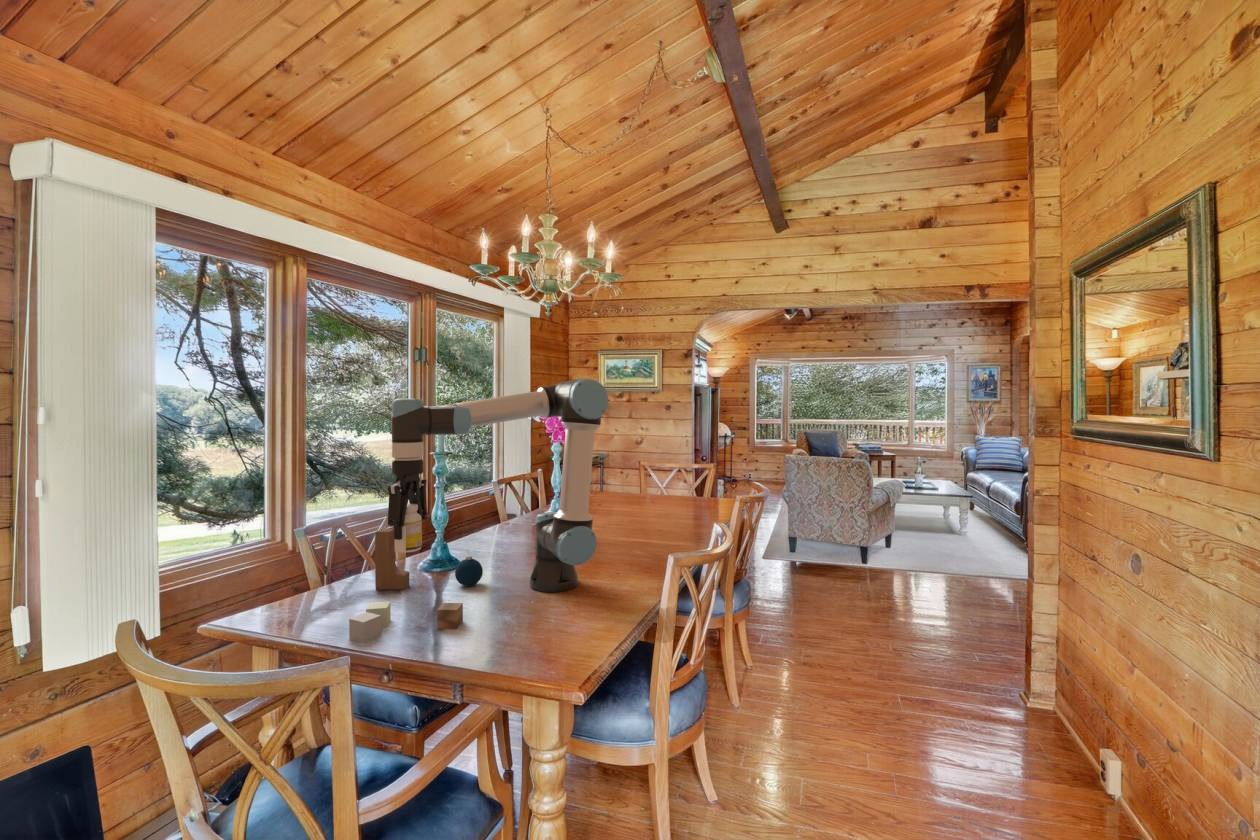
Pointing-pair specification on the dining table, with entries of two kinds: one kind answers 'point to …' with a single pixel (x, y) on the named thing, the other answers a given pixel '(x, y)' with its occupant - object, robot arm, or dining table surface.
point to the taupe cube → (365, 627)
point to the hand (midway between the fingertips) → (408, 548)
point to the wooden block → (388, 563)
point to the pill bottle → (413, 528)
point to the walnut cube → (449, 615)
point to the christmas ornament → (468, 571)
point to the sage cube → (381, 611)
